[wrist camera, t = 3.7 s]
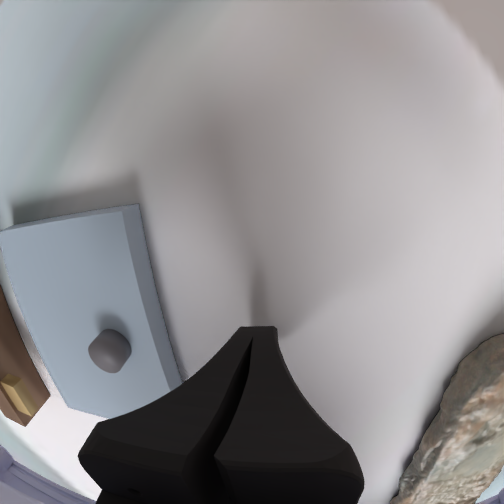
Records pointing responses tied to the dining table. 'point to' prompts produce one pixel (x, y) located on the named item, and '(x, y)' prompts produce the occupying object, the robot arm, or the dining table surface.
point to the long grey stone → (462, 435)
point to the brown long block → (17, 373)
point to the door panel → (93, 308)
